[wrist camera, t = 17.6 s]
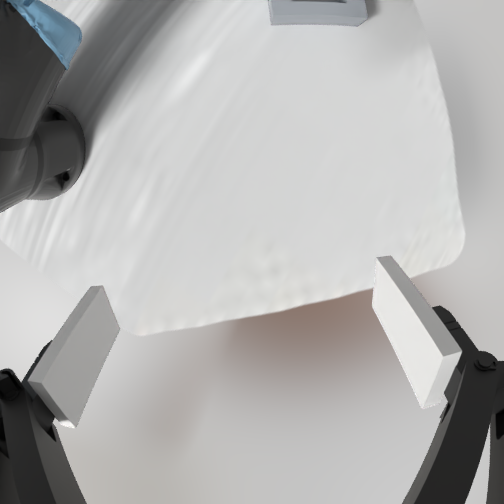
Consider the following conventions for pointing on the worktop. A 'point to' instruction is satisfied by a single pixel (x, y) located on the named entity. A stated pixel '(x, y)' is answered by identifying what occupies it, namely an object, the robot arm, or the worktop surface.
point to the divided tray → (317, 12)
